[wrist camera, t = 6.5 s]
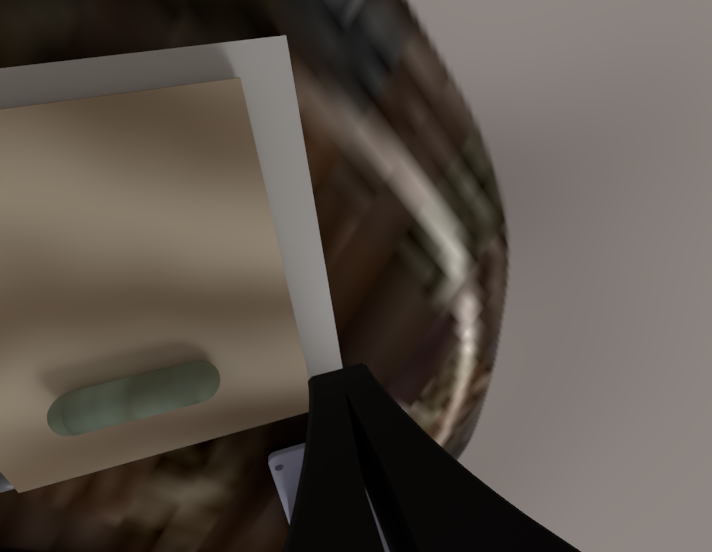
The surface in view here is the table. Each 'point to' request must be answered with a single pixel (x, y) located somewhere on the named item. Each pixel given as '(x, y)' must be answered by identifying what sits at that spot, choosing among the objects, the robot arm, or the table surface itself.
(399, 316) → the table surface
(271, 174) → the light grey square plate
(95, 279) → the board
